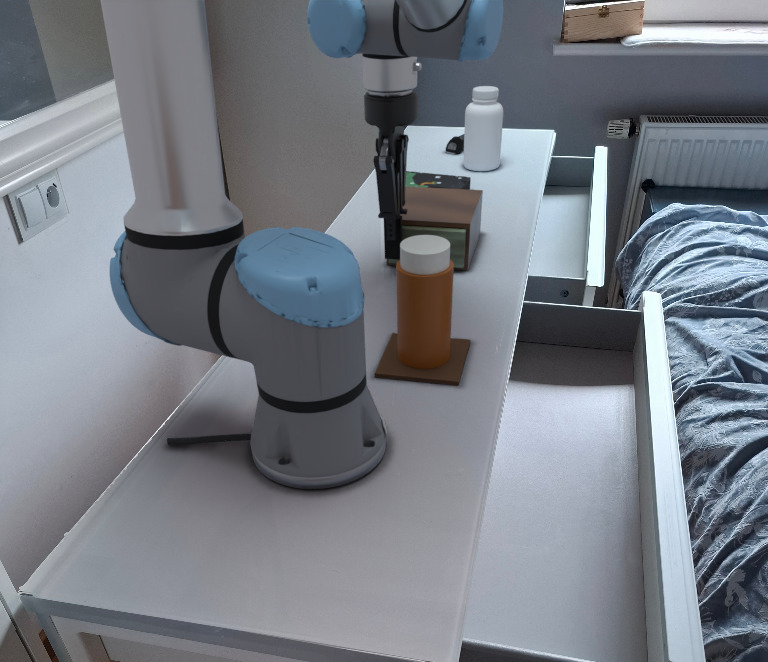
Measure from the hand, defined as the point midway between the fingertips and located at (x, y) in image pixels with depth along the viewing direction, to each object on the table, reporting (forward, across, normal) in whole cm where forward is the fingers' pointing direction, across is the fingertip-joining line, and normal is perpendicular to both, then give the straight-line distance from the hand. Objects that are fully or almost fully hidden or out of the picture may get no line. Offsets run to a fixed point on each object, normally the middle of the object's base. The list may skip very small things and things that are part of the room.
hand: (393, 257), depth 115 cm
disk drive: (+2, +37, +1) cm, 37 cm away
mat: (+3, -26, -10) cm, 28 cm away
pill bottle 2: (+2, +57, -7) cm, 58 cm away
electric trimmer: (+2, +72, -2) cm, 72 cm away
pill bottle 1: (+3, -26, -10) cm, 28 cm away
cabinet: (+2, +11, -5) cm, 12 cm away
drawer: (+2, +7, -5) cm, 9 cm away
